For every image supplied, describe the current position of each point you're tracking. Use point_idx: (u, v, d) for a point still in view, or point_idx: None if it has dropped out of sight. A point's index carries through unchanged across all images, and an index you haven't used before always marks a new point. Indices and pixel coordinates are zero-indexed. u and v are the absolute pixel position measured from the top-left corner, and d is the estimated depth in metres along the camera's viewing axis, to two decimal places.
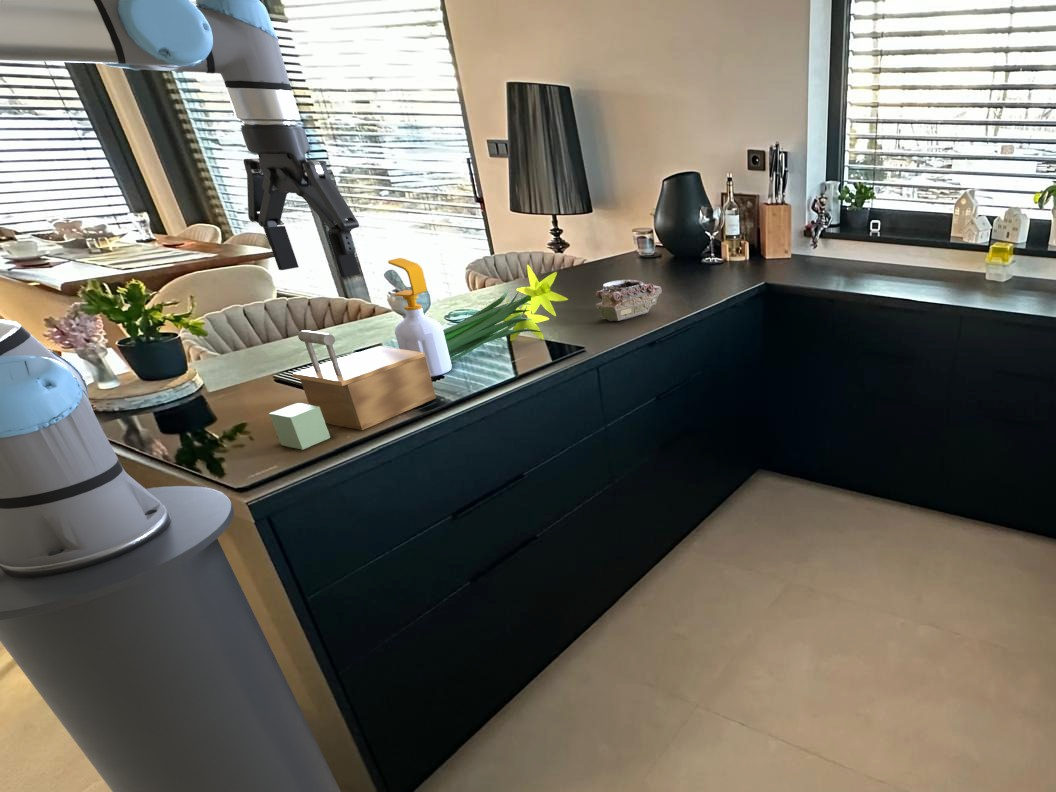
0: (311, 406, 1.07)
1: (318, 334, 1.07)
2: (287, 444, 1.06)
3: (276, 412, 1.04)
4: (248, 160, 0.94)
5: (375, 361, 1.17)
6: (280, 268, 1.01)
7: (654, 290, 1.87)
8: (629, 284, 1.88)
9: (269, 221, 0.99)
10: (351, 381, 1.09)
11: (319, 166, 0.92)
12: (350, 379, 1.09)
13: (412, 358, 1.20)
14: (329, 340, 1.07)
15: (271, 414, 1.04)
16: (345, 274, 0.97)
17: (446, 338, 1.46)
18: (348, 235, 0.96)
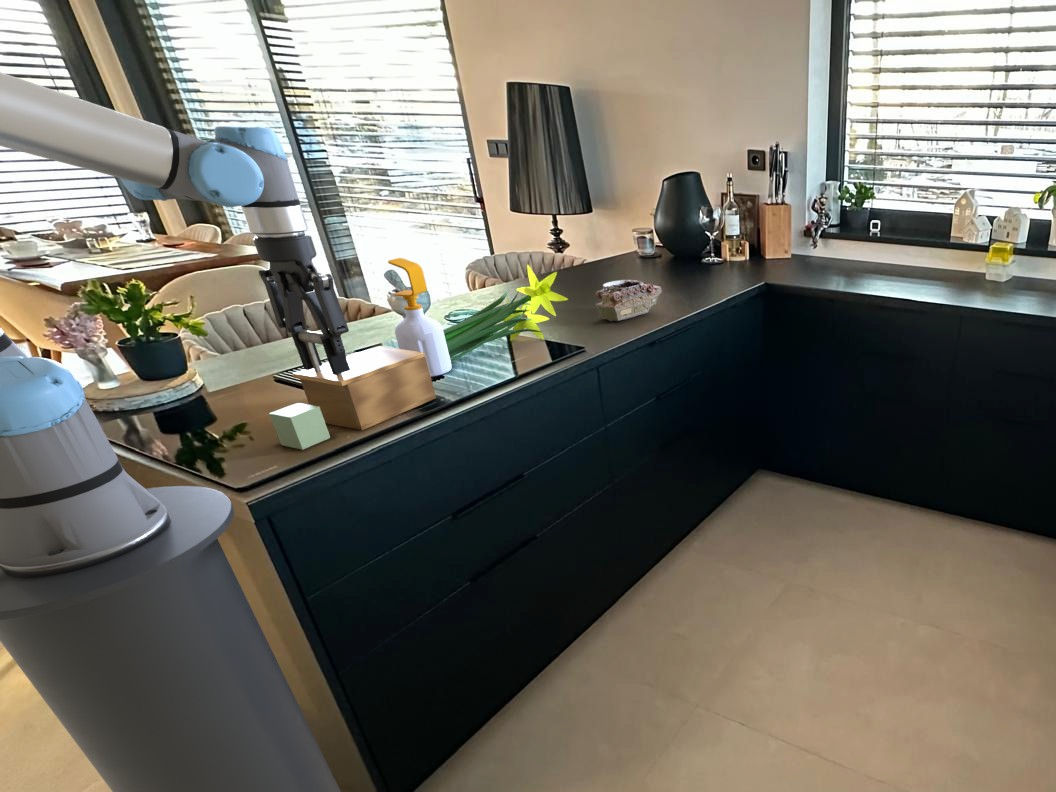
0: (311, 406, 1.07)
1: (318, 334, 1.07)
2: (287, 444, 1.06)
3: (276, 412, 1.04)
4: (262, 270, 1.04)
5: (375, 361, 1.17)
6: (306, 368, 1.10)
7: (654, 290, 1.87)
8: (629, 284, 1.88)
9: (295, 326, 1.08)
10: (351, 381, 1.09)
11: (327, 280, 1.02)
12: (350, 379, 1.09)
13: (412, 358, 1.20)
14: None
15: (271, 414, 1.04)
16: (336, 372, 1.09)
17: (446, 338, 1.46)
18: (339, 338, 1.07)
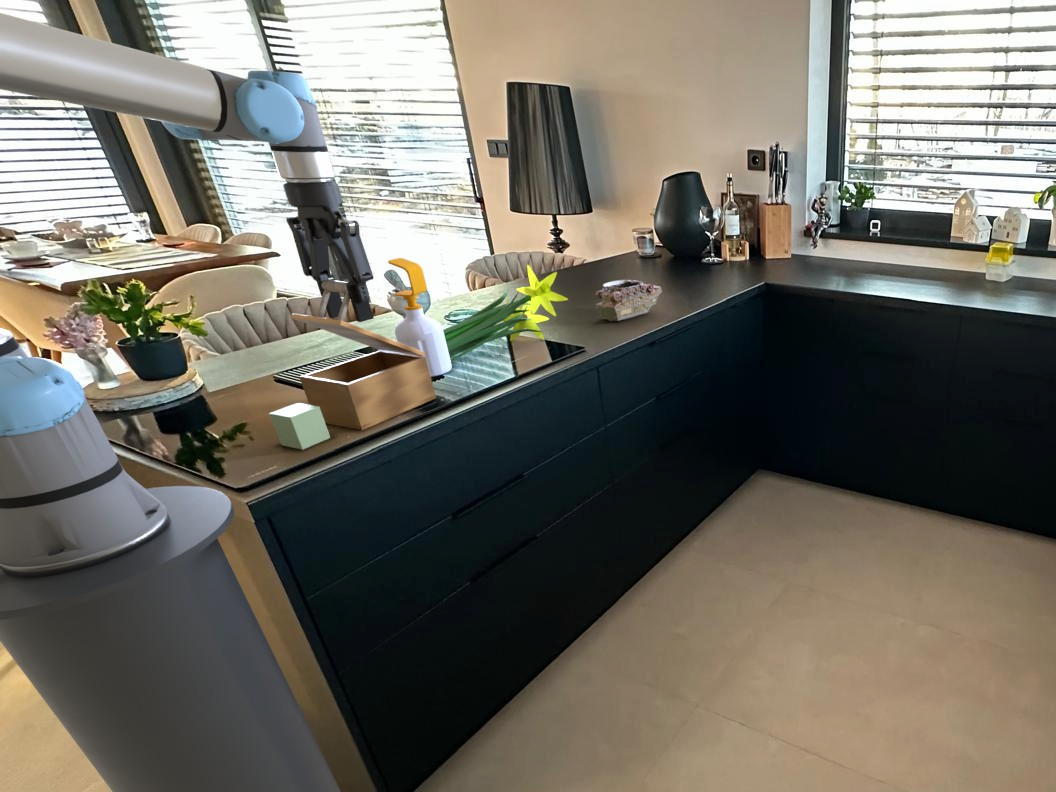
0: (311, 406, 1.07)
1: None
2: (287, 444, 1.06)
3: (276, 412, 1.04)
4: (289, 218, 1.06)
5: None
6: (330, 316, 1.13)
7: (654, 290, 1.87)
8: (629, 284, 1.88)
9: (321, 274, 1.11)
10: (350, 327, 1.08)
11: (353, 226, 1.04)
12: (350, 324, 1.08)
13: (412, 349, 1.20)
14: None
15: (271, 414, 1.04)
16: (361, 319, 1.11)
17: (446, 338, 1.46)
18: (364, 286, 1.10)
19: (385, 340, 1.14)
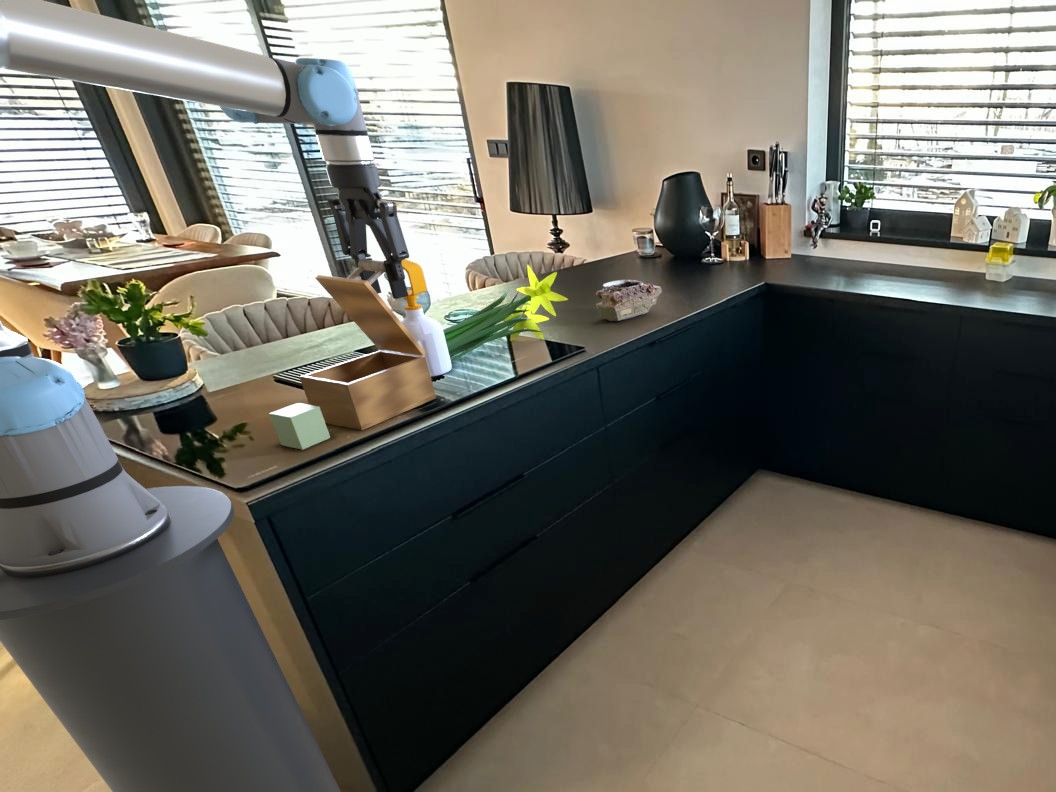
0: (311, 406, 1.07)
1: None
2: (287, 444, 1.06)
3: (276, 412, 1.04)
4: (330, 199, 1.12)
5: None
6: None
7: (654, 290, 1.87)
8: (629, 284, 1.88)
9: (359, 253, 1.17)
10: (372, 291, 1.10)
11: (391, 207, 1.10)
12: (372, 289, 1.10)
13: (416, 343, 1.20)
14: None
15: (271, 414, 1.04)
16: (397, 296, 1.17)
17: (446, 338, 1.46)
18: (400, 264, 1.15)
19: (396, 320, 1.16)
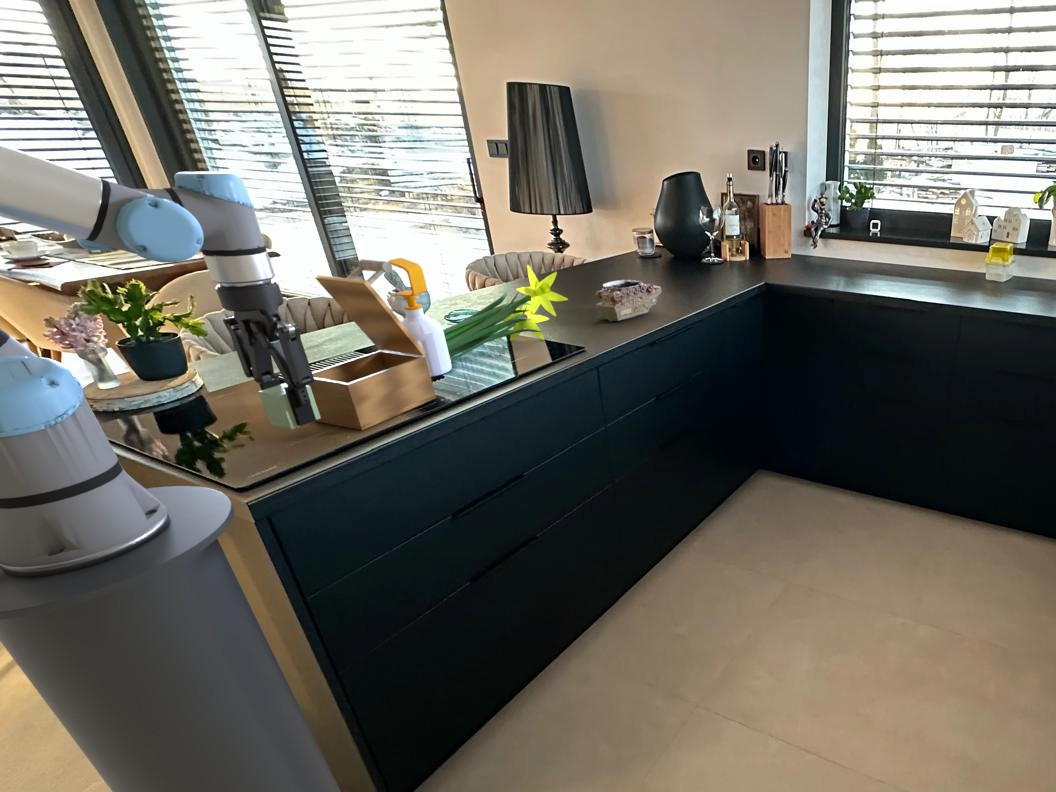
0: None
1: None
2: (276, 423, 1.04)
3: (265, 390, 1.02)
4: (226, 319, 0.99)
5: None
6: None
7: (654, 290, 1.87)
8: (629, 284, 1.88)
9: (263, 375, 1.03)
10: (372, 291, 1.10)
11: (293, 331, 0.97)
12: (372, 289, 1.10)
13: (416, 343, 1.20)
14: (387, 267, 1.15)
15: (260, 392, 1.02)
16: (301, 423, 1.04)
17: (446, 338, 1.46)
18: (304, 389, 1.02)
19: (396, 320, 1.16)
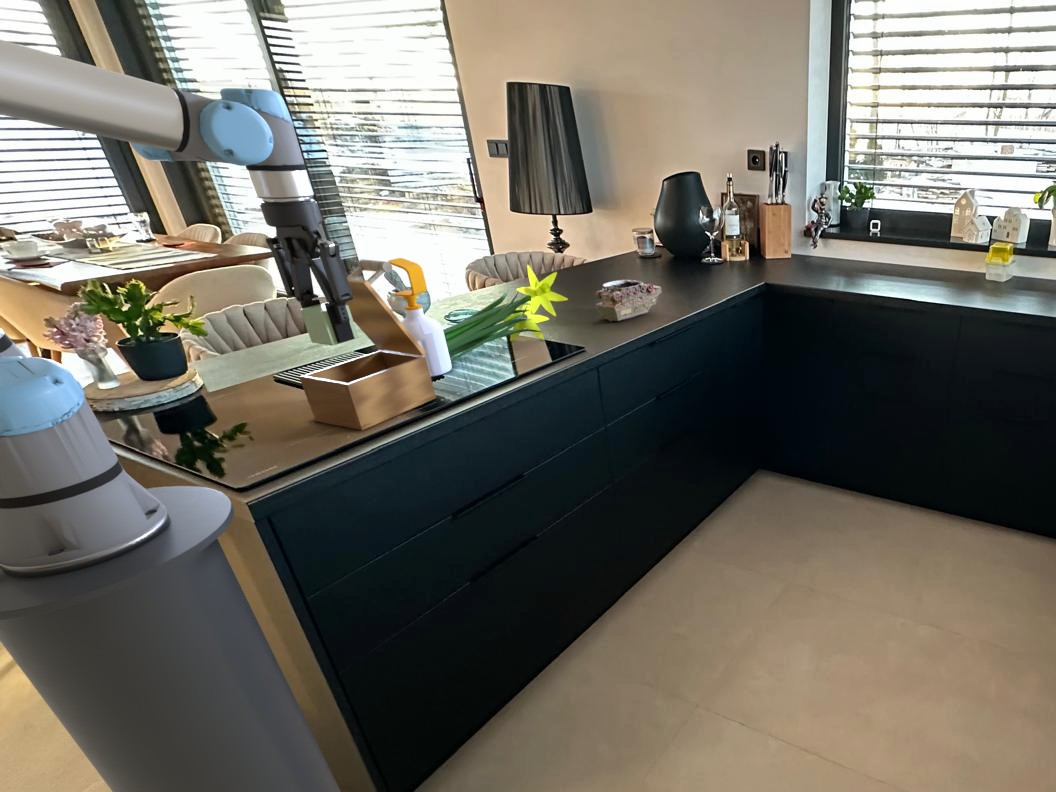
0: None
1: None
2: (317, 341, 1.09)
3: (307, 308, 1.07)
4: (268, 238, 1.04)
5: None
6: None
7: (654, 290, 1.87)
8: (629, 284, 1.88)
9: (304, 295, 1.08)
10: (372, 291, 1.10)
11: (333, 247, 1.02)
12: (372, 289, 1.10)
13: (416, 343, 1.20)
14: (387, 267, 1.15)
15: (302, 310, 1.07)
16: (341, 340, 1.09)
17: (446, 338, 1.46)
18: (343, 306, 1.07)
19: (396, 320, 1.16)
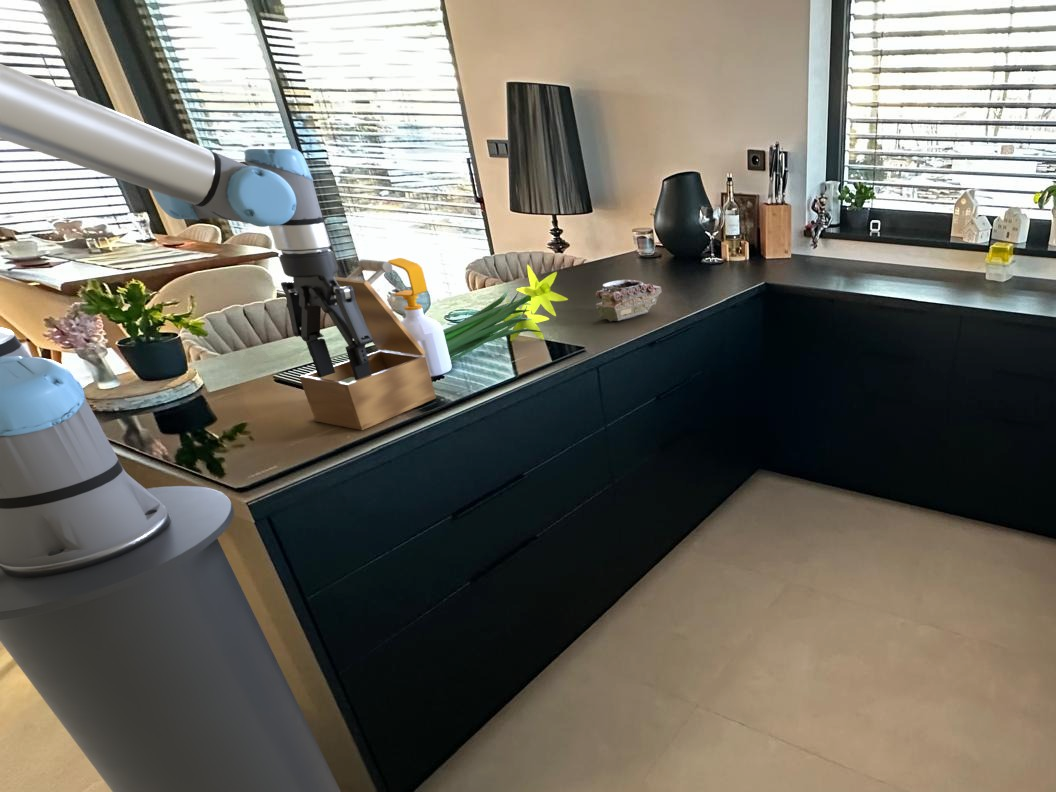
0: None
1: None
2: None
3: None
4: (284, 283, 1.07)
5: None
6: (319, 375, 1.14)
7: (654, 290, 1.87)
8: (629, 284, 1.88)
9: (310, 335, 1.12)
10: (372, 291, 1.10)
11: (348, 292, 1.05)
12: (372, 289, 1.10)
13: (416, 343, 1.20)
14: (387, 267, 1.15)
15: None
16: None
17: (446, 338, 1.46)
18: (363, 349, 1.10)
19: (396, 320, 1.16)
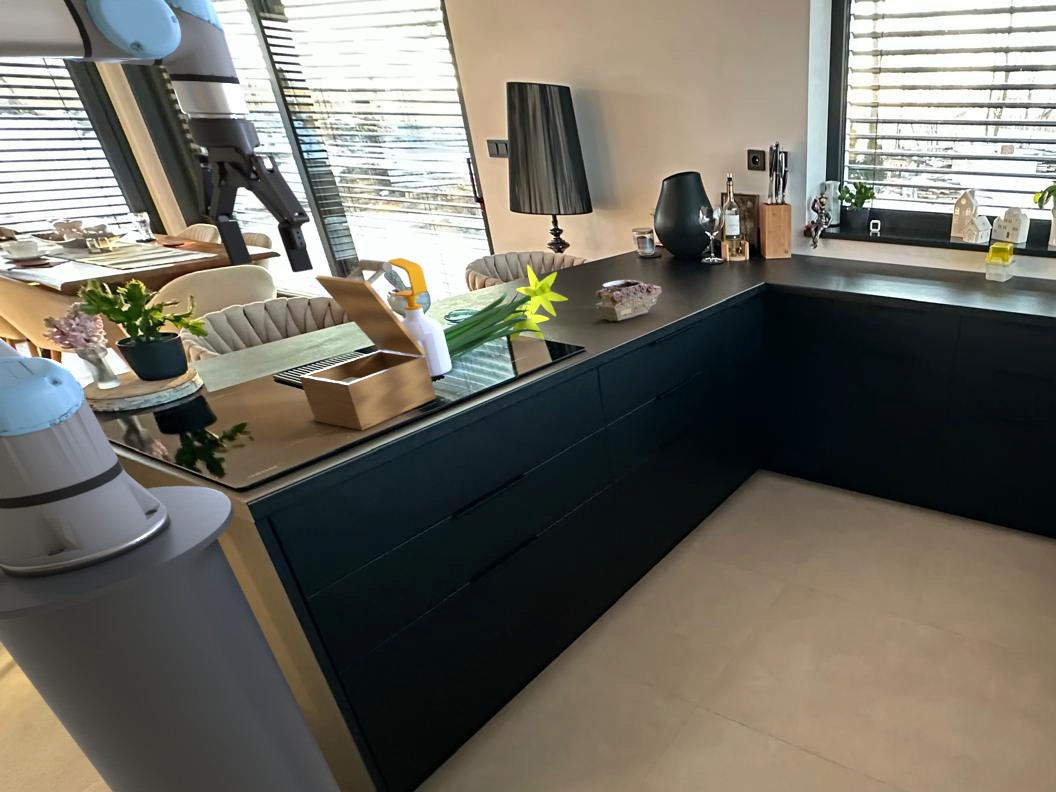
0: None
1: None
2: None
3: None
4: (197, 154, 0.93)
5: None
6: (232, 263, 1.00)
7: (654, 290, 1.87)
8: (629, 284, 1.88)
9: (220, 216, 0.98)
10: (372, 291, 1.10)
11: (268, 160, 0.91)
12: (372, 289, 1.10)
13: (416, 343, 1.20)
14: (387, 267, 1.15)
15: None
16: (297, 269, 0.97)
17: (446, 338, 1.46)
18: (299, 230, 0.95)
19: (396, 320, 1.16)
